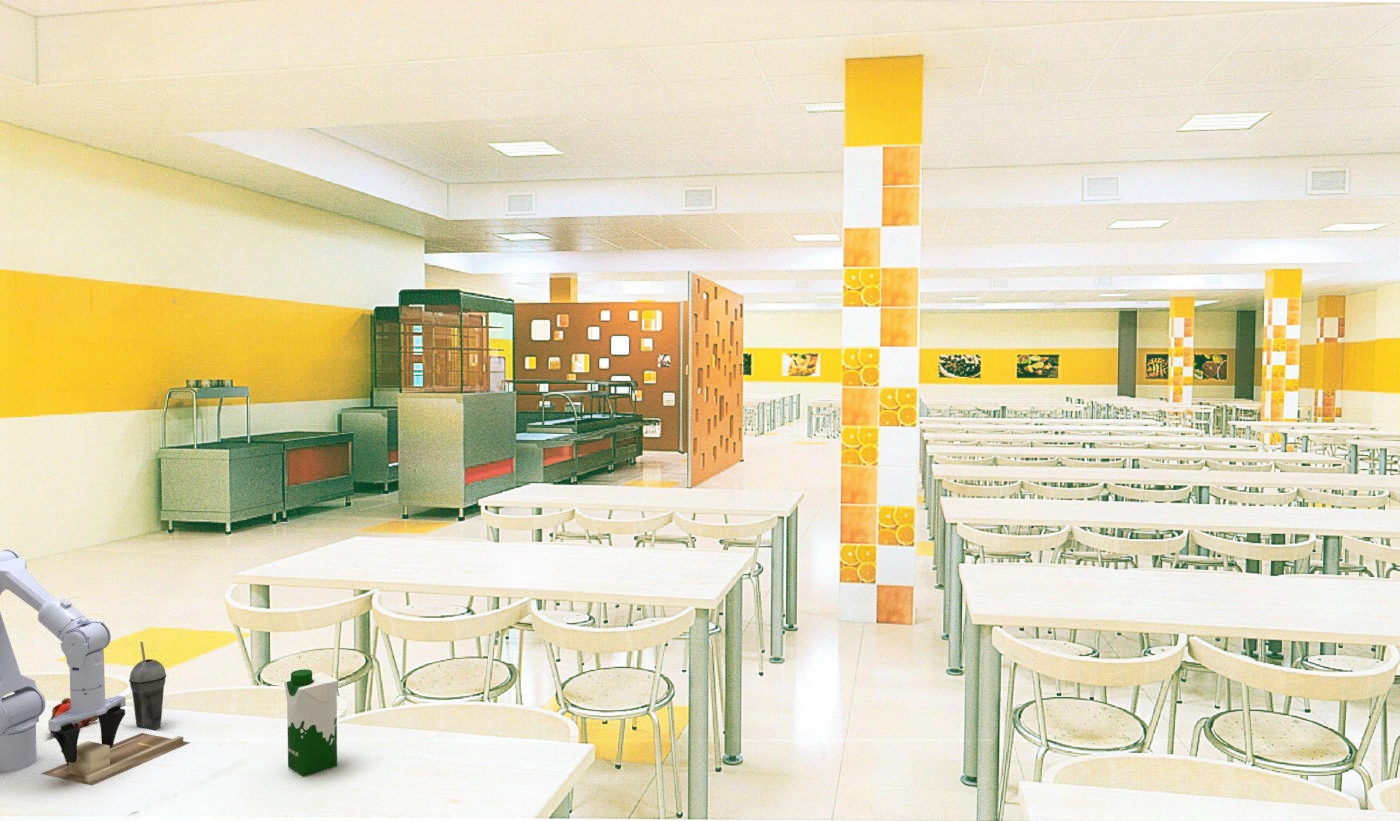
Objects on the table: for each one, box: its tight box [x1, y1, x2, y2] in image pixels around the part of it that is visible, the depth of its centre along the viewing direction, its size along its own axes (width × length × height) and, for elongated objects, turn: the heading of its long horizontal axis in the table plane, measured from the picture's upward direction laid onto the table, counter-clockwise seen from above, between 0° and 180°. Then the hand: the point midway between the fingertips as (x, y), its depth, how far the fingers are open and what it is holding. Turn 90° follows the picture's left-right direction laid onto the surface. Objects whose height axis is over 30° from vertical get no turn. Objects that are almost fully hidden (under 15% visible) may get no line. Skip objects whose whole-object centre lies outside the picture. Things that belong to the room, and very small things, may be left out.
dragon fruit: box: [47, 697, 99, 730], centre depth 213 cm, size 8×8×12 cm
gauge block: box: [60, 740, 110, 777], centre depth 190 cm, size 10×4×5 cm, turn 69°
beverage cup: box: [128, 641, 167, 732], centre depth 215 cm, size 7×7×20 cm
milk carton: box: [284, 668, 339, 778], centre depth 196 cm, size 9×9×20 cm
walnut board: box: [41, 732, 191, 786], centre depth 196 cm, size 14×22×3 cm, turn 159°
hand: (89, 753), depth 189 cm, fingers open, 7 cm apart
